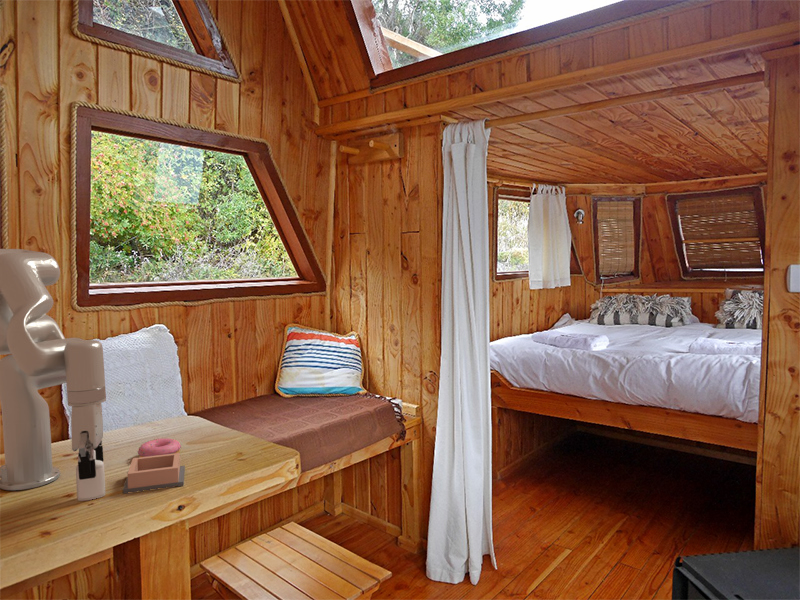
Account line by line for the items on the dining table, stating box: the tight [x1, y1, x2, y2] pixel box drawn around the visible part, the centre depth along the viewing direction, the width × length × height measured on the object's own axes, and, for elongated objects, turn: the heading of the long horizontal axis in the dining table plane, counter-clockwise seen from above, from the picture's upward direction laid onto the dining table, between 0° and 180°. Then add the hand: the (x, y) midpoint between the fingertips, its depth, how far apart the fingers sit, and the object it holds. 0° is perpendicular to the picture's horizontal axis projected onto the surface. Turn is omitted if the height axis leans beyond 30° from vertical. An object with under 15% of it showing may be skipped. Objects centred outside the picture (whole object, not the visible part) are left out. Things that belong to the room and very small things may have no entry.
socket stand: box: [122, 452, 186, 494], centre depth 136 cm, size 13×11×4 cm
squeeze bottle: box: [75, 445, 106, 502], centre depth 126 cm, size 4×6×12 cm
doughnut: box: [137, 437, 182, 458], centre depth 153 cm, size 11×11×4 cm
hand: (91, 470), depth 126 cm, fingers open, 9 cm apart
